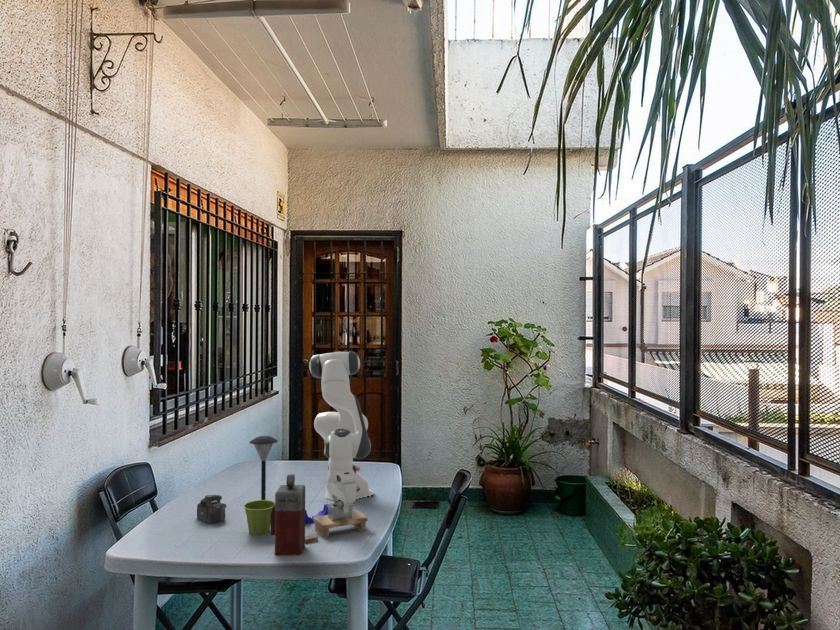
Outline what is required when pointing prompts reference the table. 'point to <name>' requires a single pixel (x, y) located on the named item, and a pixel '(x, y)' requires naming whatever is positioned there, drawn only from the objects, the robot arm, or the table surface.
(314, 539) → the tan wooden block
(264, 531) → the plant pot
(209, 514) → the camera
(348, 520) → the stand
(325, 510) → the blue curved block
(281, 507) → the red grey canister
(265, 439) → the solar garden light
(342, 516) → the housing
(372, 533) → the table surface
